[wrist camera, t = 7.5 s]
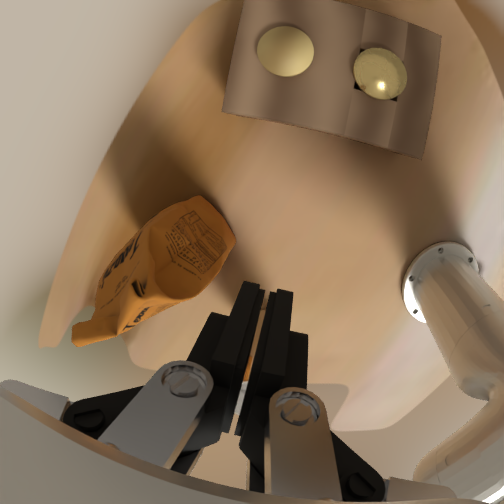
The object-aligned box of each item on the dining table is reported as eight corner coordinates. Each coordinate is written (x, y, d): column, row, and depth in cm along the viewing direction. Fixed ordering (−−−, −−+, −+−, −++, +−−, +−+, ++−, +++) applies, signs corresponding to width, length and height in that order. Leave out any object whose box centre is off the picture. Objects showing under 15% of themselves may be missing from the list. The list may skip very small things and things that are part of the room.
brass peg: (390, 71, 29) (410, 57, 22) (383, 111, 31) (402, 106, 24) (347, 58, 29) (358, 41, 22) (340, 98, 31) (349, 90, 24)
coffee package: (138, 230, 43) (33, 306, 23) (204, 183, 39) (105, 241, 19) (177, 285, 45) (100, 388, 25) (247, 246, 41) (192, 356, 21)
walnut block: (417, 51, 28) (444, 33, 20) (399, 153, 33) (424, 160, 25) (258, 14, 30) (245, -15, 21) (238, 115, 35) (219, 111, 27)
